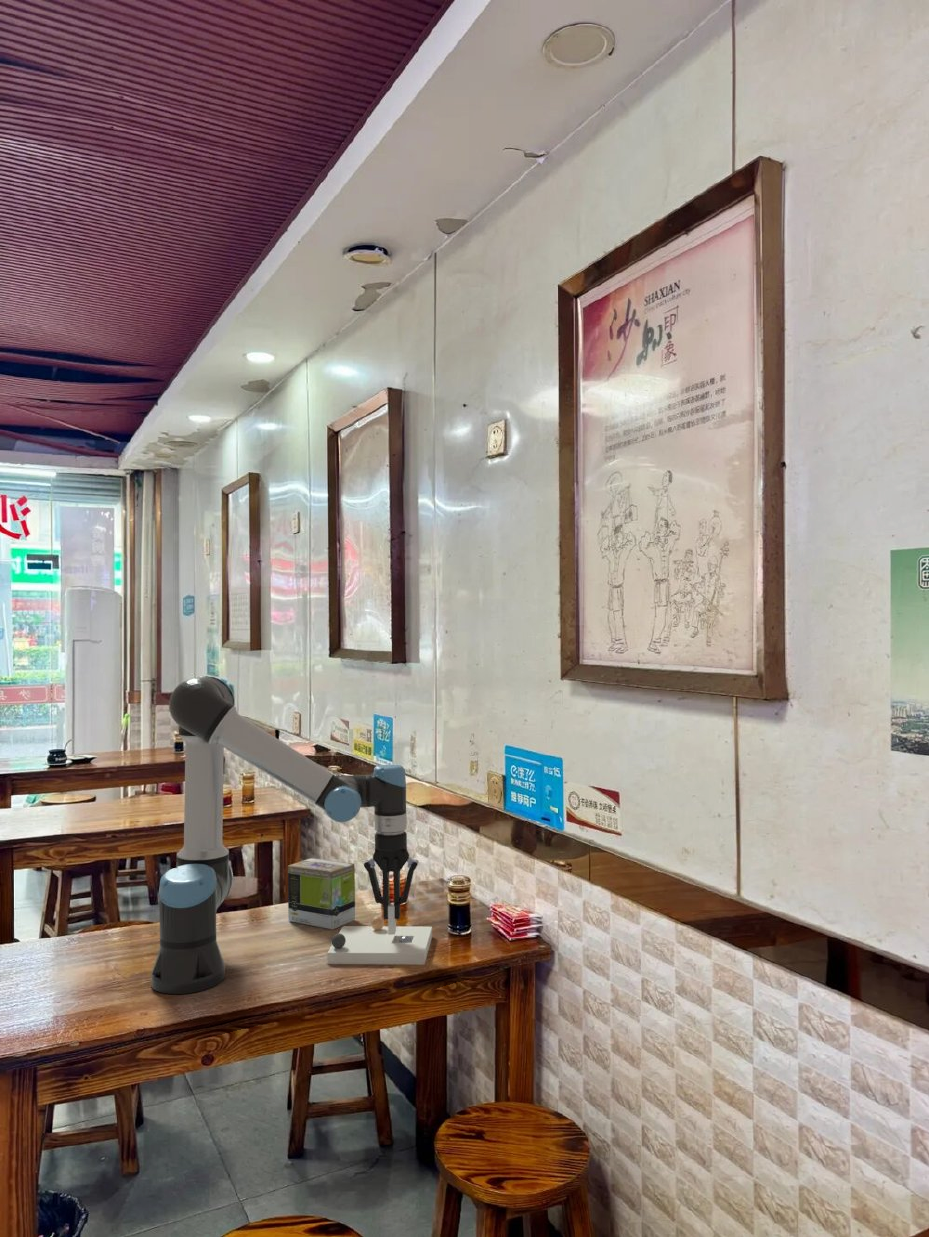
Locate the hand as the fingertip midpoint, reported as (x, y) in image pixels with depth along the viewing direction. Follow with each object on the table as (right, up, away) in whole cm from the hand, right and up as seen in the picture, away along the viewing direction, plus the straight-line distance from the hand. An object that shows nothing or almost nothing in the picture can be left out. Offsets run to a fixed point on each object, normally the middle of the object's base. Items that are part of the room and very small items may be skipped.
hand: (392, 932), depth 202 cm
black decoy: (-12, 0, -5) cm, 13 cm away
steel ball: (+3, -2, 0) cm, 4 cm away
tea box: (-20, -5, +22) cm, 30 cm away
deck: (-2, -4, 0) cm, 5 cm away
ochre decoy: (-4, 0, +7) cm, 8 cm away
